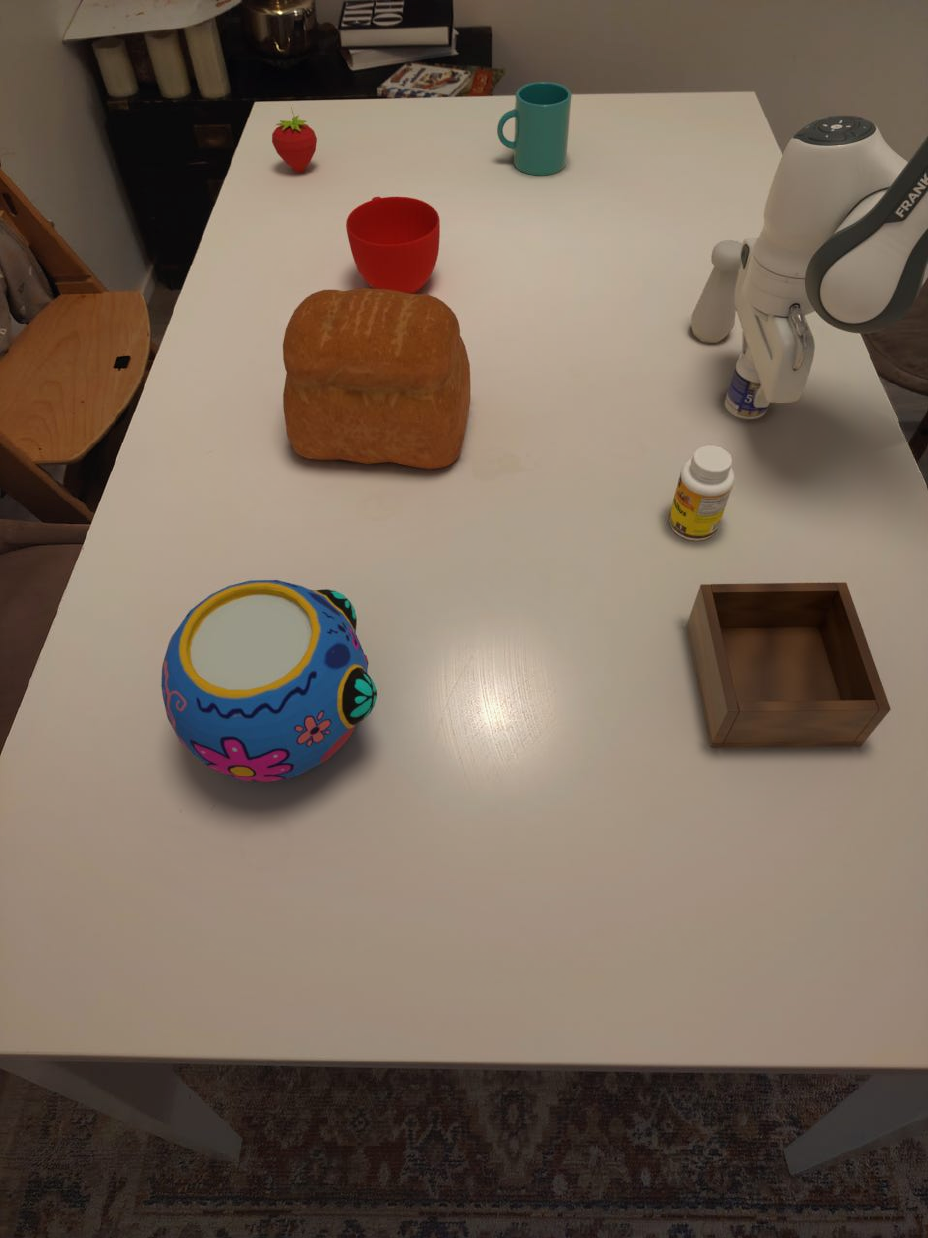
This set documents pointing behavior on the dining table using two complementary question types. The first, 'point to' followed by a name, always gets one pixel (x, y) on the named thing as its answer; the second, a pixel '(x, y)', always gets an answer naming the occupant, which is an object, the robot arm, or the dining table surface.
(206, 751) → the ceramic pot
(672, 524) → the supplement bottle
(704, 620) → the box
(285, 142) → the strawberry
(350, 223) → the ceramic cup
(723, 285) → the salt shaker
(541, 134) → the cup
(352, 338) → the bread
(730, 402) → the pill bottle
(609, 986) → the dining table surface
